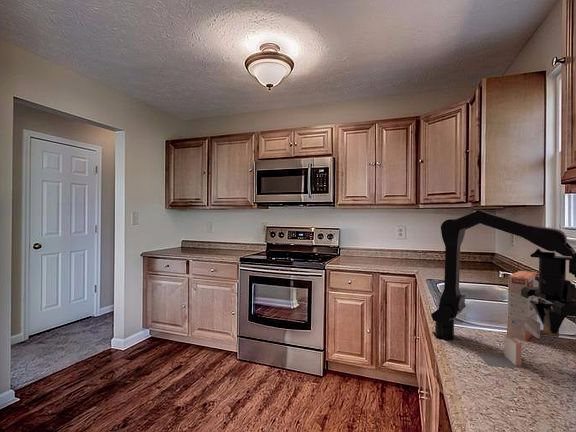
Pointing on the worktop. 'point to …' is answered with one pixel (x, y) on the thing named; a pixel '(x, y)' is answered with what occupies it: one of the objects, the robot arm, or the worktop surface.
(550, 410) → the worktop surface
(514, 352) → the glazed tile
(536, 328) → the walnut turner
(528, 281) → the cracker box
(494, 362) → the slate mat
